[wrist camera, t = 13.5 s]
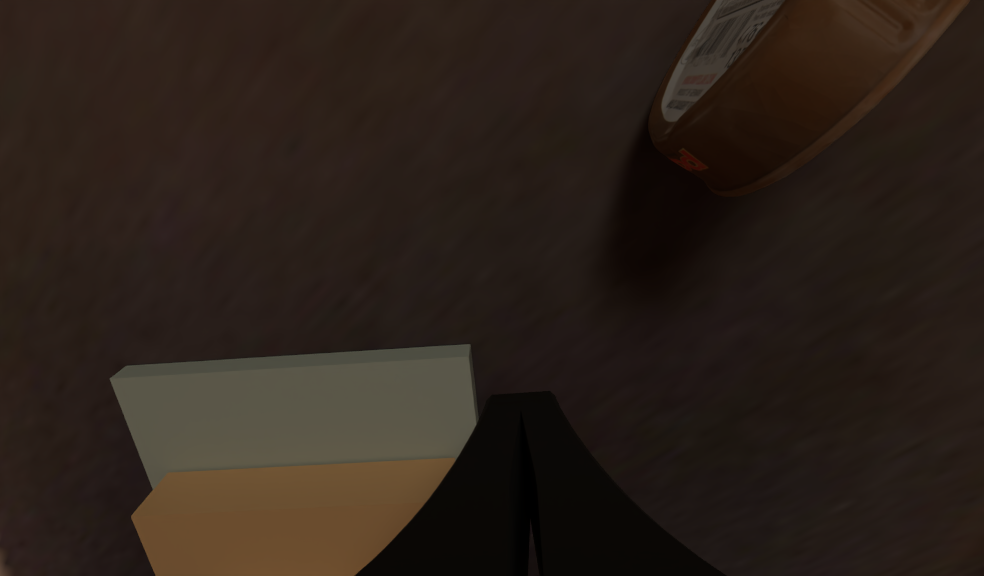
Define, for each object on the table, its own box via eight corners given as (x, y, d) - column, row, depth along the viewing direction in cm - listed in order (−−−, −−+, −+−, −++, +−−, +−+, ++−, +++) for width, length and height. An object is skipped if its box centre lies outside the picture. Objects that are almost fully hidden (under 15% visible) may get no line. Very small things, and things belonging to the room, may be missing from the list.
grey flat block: (500, 623, 27) (500, 698, 24) (226, 632, 28) (188, 707, 24) (470, 344, 21) (464, 393, 18) (126, 365, 22) (60, 416, 19)
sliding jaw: (464, 533, 23) (460, 581, 21) (195, 545, 24) (163, 593, 22) (454, 457, 22) (449, 501, 20) (167, 472, 23) (131, 516, 20)
